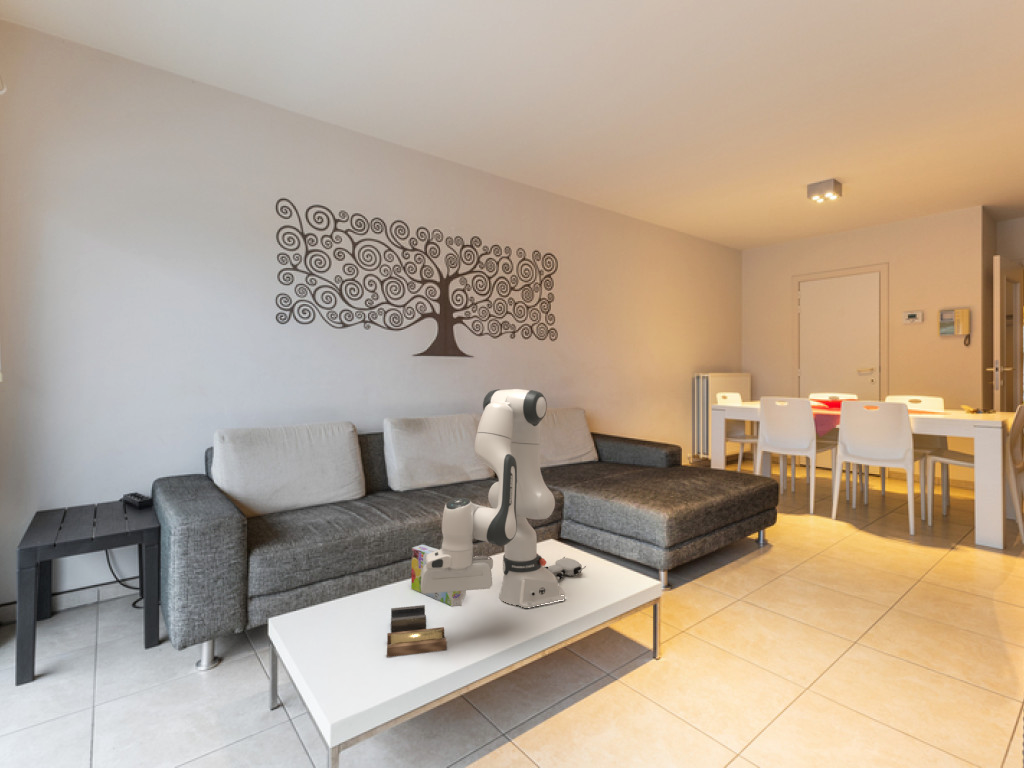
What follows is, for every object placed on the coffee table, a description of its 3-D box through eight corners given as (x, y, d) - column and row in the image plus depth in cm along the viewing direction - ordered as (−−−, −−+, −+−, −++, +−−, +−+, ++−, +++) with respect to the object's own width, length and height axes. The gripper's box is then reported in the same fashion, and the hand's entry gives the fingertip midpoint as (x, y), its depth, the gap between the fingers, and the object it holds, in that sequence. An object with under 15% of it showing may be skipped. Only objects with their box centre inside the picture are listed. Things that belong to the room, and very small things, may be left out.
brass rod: (441, 640, 146) (441, 626, 146) (442, 647, 142) (442, 633, 142) (391, 646, 143) (390, 631, 143) (390, 653, 139) (390, 638, 139)
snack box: (463, 601, 170) (463, 556, 170) (451, 607, 166) (451, 561, 166) (422, 584, 184) (422, 543, 184) (410, 589, 180) (410, 547, 180)
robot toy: (557, 588, 184) (587, 575, 192) (557, 575, 183) (587, 563, 192) (536, 576, 193) (566, 565, 202) (536, 565, 193) (565, 554, 202)
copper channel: (443, 635, 148) (443, 627, 148) (446, 650, 140) (446, 641, 140) (387, 641, 144) (387, 633, 144) (387, 657, 136) (387, 648, 136)
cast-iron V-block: (424, 621, 156) (424, 605, 156) (426, 634, 149) (426, 617, 149) (391, 624, 154) (391, 608, 154) (391, 637, 146) (391, 620, 146)
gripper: (491, 551, 150) (490, 597, 150) (420, 555, 145) (419, 603, 145) (495, 558, 143) (494, 607, 143) (421, 563, 139) (421, 613, 139)
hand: (456, 605), depth 144 cm, fingers closed
